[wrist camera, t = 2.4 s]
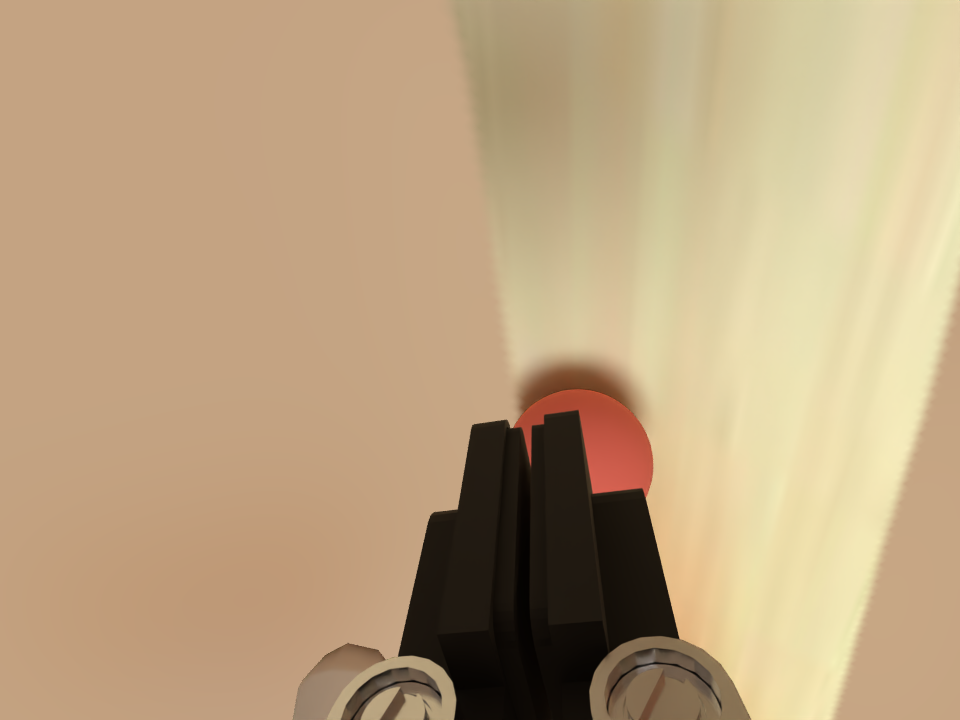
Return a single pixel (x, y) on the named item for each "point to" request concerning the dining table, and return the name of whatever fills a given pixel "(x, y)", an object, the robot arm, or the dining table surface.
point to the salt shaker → (331, 680)
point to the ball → (601, 438)
